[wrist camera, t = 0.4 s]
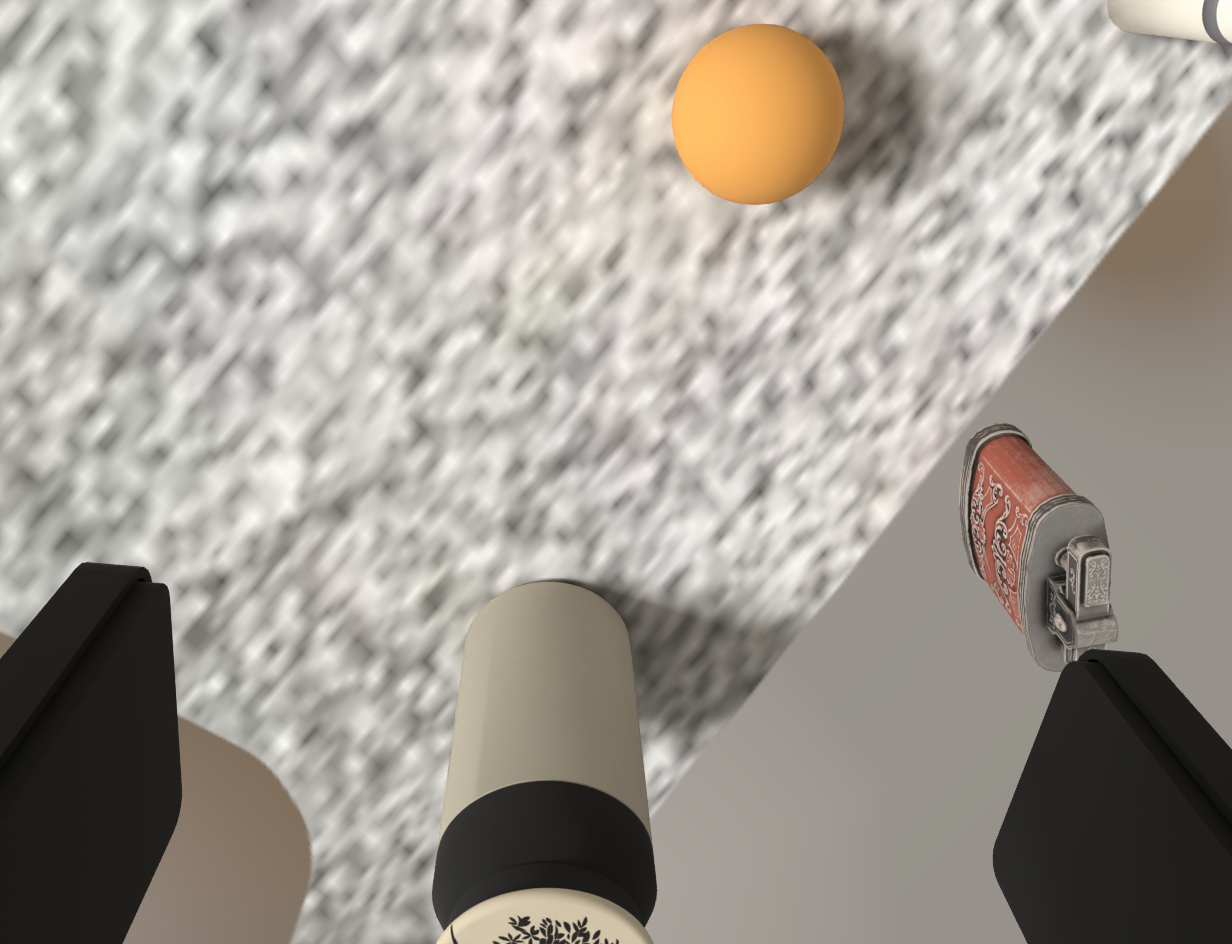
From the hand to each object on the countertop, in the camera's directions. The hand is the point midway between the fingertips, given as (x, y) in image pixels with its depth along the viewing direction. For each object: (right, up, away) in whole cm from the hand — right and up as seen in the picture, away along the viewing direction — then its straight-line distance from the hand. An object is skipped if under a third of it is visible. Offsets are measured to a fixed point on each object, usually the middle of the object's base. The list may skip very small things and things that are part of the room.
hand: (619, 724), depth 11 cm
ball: (+5, +15, +25) cm, 30 cm away
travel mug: (-3, -6, +39) cm, 39 cm away
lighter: (+17, +1, +36) cm, 40 cm away
